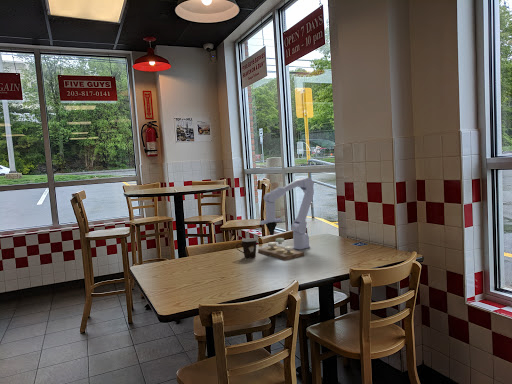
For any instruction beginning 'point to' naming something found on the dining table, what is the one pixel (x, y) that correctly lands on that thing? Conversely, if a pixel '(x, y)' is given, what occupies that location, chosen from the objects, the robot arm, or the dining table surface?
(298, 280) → the dining table surface
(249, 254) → the coffee mug
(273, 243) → the ivory knob
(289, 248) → the ivory knob
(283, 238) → the middle sage knob
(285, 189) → the robot arm
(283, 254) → the knob board
